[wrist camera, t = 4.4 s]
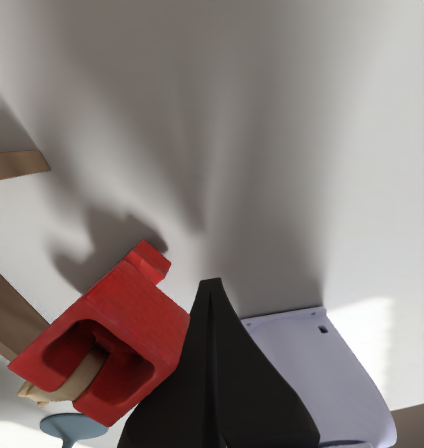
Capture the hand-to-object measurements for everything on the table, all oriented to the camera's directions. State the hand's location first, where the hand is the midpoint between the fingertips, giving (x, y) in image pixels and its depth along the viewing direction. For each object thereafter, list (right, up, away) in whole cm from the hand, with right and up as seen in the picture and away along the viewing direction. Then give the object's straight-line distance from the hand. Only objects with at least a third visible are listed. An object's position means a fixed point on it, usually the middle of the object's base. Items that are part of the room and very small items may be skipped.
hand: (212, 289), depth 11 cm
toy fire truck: (-7, 0, +4) cm, 7 cm away
